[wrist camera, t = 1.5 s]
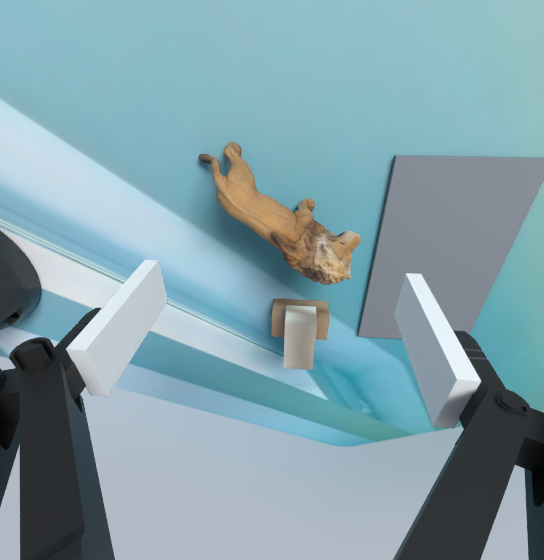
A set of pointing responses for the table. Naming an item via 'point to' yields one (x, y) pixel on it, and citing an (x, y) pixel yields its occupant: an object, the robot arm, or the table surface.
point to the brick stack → (299, 329)
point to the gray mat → (447, 233)
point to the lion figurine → (283, 223)
